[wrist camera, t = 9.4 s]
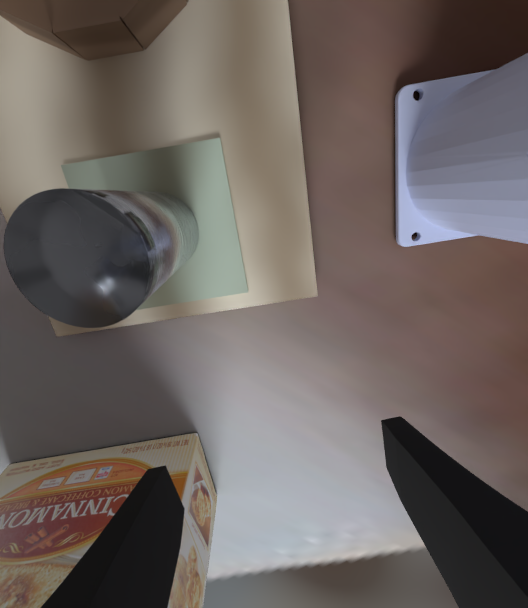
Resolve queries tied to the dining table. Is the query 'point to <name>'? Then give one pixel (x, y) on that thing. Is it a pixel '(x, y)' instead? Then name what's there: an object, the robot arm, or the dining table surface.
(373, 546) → the dining table surface
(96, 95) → the board
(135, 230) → the pin
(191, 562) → the coffeecake box
